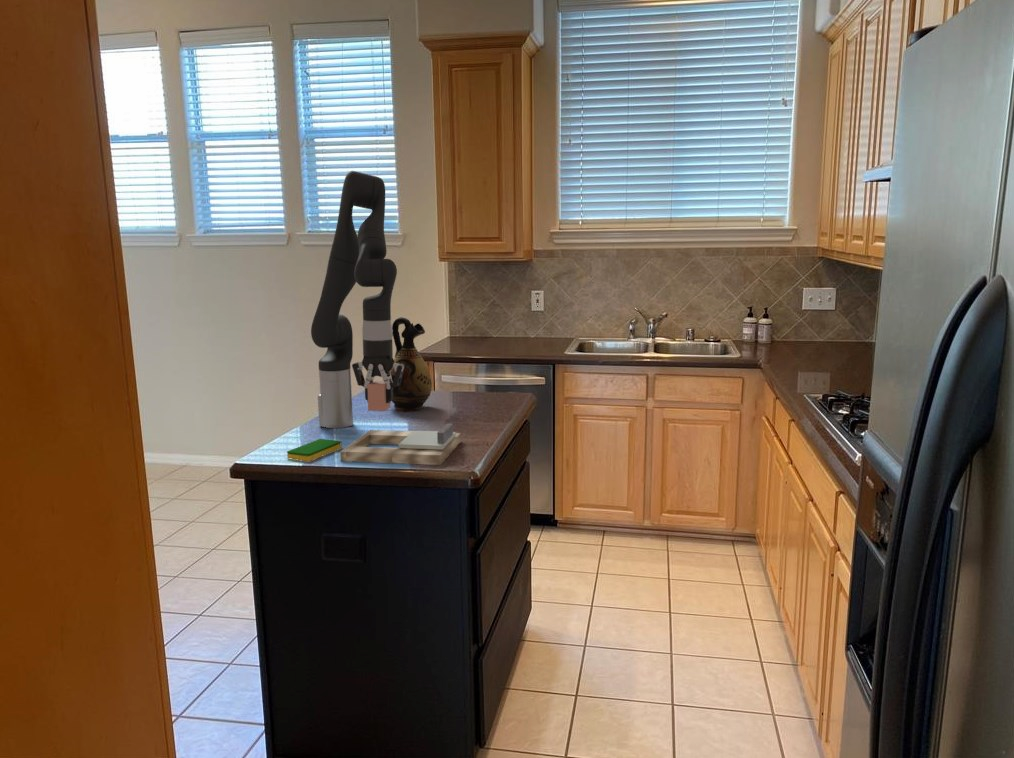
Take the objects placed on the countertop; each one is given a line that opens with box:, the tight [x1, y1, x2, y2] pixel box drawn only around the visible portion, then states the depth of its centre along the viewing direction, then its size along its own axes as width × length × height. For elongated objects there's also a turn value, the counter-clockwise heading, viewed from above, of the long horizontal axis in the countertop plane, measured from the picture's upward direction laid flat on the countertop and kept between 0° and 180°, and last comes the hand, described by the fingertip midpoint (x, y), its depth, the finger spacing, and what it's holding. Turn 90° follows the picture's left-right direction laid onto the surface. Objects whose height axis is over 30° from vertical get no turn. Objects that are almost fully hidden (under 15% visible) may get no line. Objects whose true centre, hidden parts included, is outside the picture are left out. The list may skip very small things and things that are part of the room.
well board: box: [339, 429, 462, 466], centre depth 197 cm, size 26×22×2 cm
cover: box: [398, 422, 457, 450], centre depth 195 cm, size 12×14×4 cm
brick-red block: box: [367, 380, 392, 412], centre depth 195 cm, size 4×4×7 cm
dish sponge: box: [286, 438, 342, 462], centre depth 196 cm, size 7×14×2 cm, turn 156°
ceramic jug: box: [390, 317, 433, 412], centre depth 246 cm, size 17×15×30 cm
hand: (379, 401), depth 196 cm, fingers closed on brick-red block, 4 cm apart
